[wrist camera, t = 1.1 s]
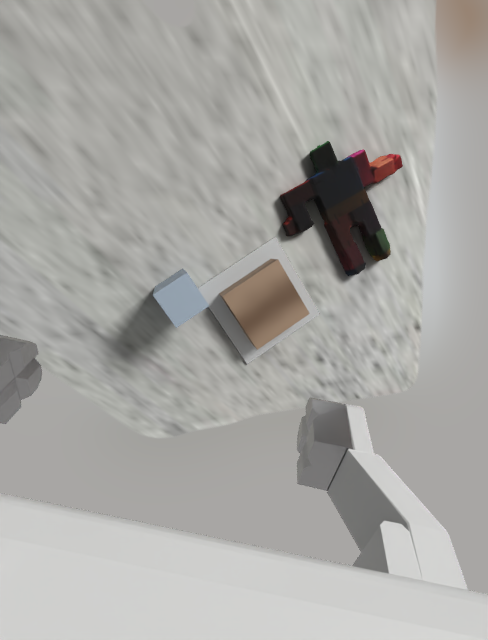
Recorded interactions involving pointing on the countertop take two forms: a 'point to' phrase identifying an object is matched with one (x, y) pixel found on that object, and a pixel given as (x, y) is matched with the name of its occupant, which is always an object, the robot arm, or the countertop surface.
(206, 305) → the post
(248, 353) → the mat
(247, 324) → the base block
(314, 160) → the toy
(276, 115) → the countertop surface
